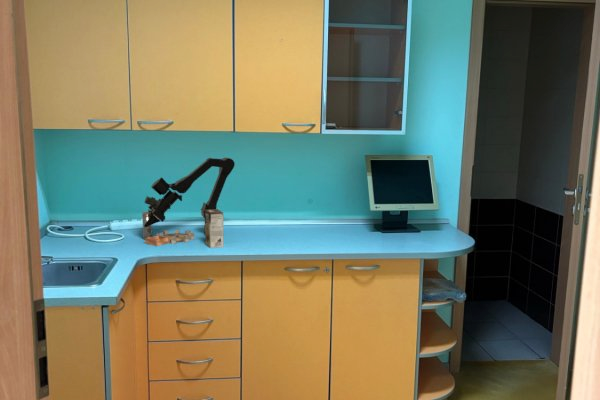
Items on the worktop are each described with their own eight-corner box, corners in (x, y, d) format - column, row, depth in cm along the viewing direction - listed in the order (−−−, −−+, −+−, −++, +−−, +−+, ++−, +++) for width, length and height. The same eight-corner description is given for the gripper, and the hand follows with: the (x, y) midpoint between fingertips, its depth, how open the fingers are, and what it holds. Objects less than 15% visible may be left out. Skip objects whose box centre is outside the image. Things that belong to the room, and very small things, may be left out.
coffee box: (204, 243, 270) (204, 209, 268) (218, 242, 273) (217, 208, 271) (210, 248, 262) (209, 212, 260) (224, 246, 265) (223, 211, 262)
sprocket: (178, 233, 291) (178, 228, 291) (201, 238, 280) (201, 232, 280) (139, 241, 273) (139, 235, 273) (161, 247, 263) (161, 241, 262)
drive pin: (153, 238, 281) (152, 211, 279) (149, 240, 277) (148, 213, 275) (145, 238, 282) (144, 211, 280) (141, 239, 278) (140, 212, 276)
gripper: (151, 187, 286) (129, 211, 283) (157, 193, 268) (133, 218, 266) (168, 202, 290) (146, 226, 287) (175, 209, 273) (151, 233, 270)
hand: (144, 225), depth 278 cm, fingers closed on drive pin, 4 cm apart
